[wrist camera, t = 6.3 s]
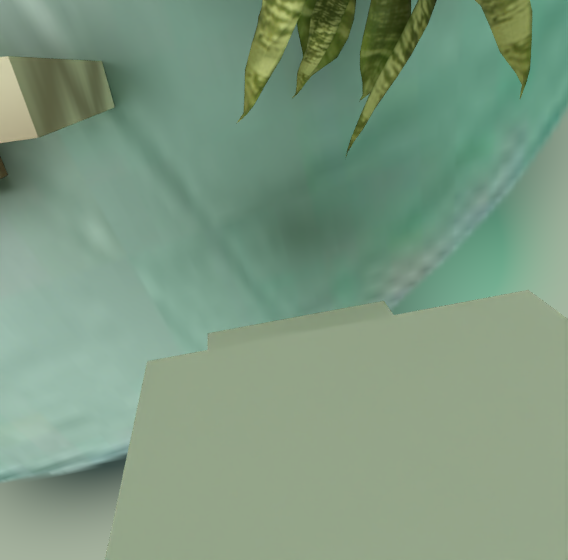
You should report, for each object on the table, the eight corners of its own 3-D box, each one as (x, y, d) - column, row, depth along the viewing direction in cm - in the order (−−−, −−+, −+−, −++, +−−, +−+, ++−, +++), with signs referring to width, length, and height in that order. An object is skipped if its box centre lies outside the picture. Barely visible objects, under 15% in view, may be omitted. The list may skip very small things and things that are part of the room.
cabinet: (178, 216, 10) (46, 828, 2) (383, 183, 10) (940, 592, 2) (242, 473, 14) (280, 976, 6) (384, 443, 15) (581, 884, 7)
